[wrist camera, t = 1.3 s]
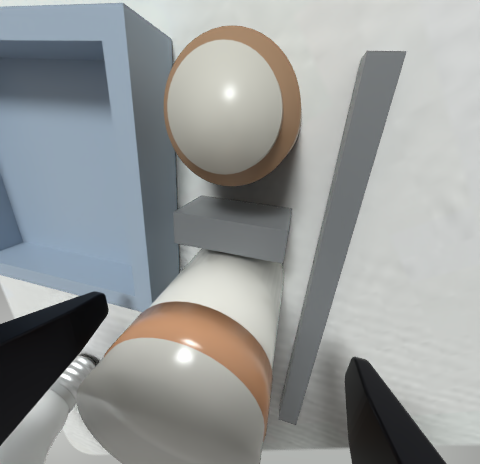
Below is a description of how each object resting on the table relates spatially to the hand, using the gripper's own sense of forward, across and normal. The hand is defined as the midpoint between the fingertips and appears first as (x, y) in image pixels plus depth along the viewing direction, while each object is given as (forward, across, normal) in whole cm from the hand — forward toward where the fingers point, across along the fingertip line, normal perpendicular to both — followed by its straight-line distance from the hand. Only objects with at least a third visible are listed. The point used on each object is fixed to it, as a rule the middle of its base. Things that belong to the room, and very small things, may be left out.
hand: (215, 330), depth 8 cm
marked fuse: (+4, 0, 0) cm, 4 cm away
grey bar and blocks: (+4, -1, 0) cm, 4 cm away
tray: (+4, +9, -4) cm, 10 cm away
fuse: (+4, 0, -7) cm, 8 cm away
